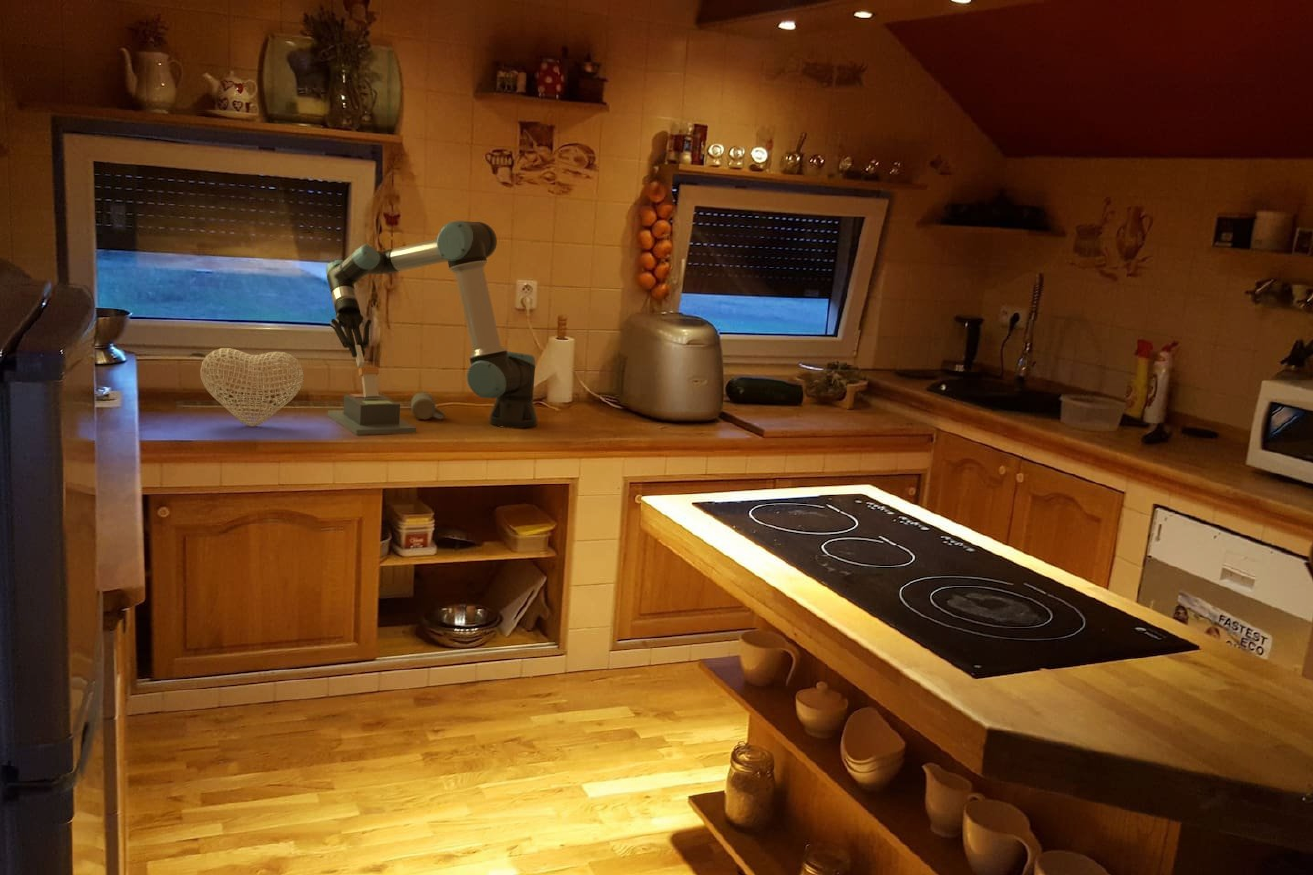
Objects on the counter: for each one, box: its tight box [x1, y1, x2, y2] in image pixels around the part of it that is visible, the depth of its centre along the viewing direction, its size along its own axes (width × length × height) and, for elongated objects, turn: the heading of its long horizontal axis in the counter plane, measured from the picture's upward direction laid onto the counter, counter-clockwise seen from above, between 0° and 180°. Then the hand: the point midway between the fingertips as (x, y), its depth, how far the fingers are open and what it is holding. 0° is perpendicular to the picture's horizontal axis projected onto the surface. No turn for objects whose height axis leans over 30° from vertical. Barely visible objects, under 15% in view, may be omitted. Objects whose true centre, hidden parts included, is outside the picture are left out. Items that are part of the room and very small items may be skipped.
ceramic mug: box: [410, 392, 446, 421], centre depth 346 cm, size 11×8×8 cm
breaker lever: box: [358, 366, 380, 398], centre depth 331 cm, size 3×5×9 cm, turn 123°
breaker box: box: [327, 393, 417, 436], centre depth 331 cm, size 28×18×8 cm, turn 33°
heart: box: [199, 347, 304, 428], centre depth 313 cm, size 28×16×22 cm, turn 96°
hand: (361, 364), depth 337 cm, fingers closed
